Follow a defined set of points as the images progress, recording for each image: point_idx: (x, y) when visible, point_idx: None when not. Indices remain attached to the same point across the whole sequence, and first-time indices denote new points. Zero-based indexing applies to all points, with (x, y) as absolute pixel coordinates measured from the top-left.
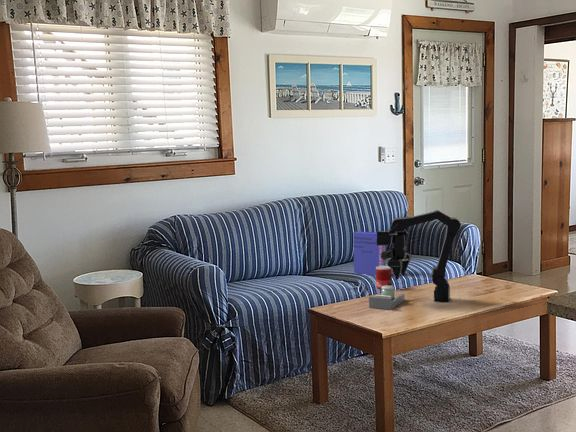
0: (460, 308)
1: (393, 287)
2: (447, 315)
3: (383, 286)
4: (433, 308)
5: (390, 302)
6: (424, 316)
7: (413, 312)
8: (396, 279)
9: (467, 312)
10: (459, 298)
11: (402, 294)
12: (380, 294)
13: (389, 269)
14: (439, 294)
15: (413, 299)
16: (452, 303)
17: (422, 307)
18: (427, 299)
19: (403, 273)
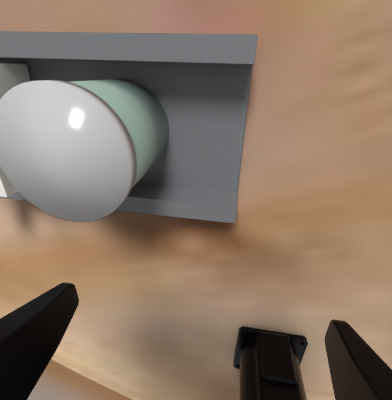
0: (166, 385)
1: (64, 216)
2: (71, 357)
3: (44, 106)
4: (128, 326)
5: None
6: (18, 307)
7: (37, 273)
8: (65, 287)
9: (130, 395)
10: (314, 393)
11: (216, 214)
12: (159, 37)
13: None
14: (241, 376)
15: (256, 245)
16: (225, 372)
17: (123, 294)
18: (271, 301)
19: (334, 365)
